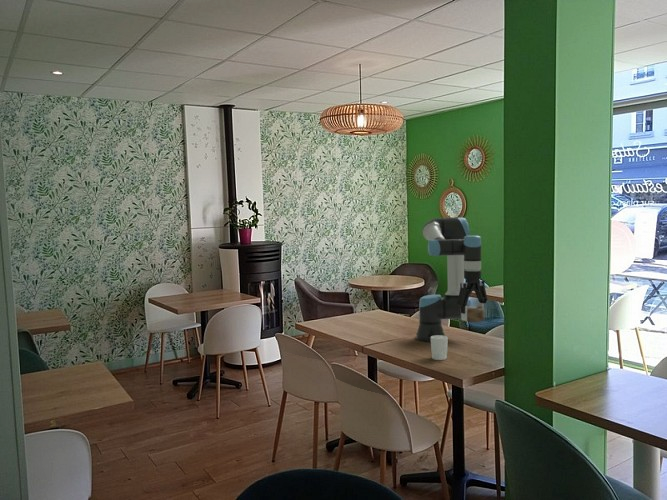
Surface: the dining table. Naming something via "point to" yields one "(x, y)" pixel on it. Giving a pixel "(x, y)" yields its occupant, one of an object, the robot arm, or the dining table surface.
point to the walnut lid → (475, 314)
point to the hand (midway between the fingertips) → (472, 318)
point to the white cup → (439, 347)
